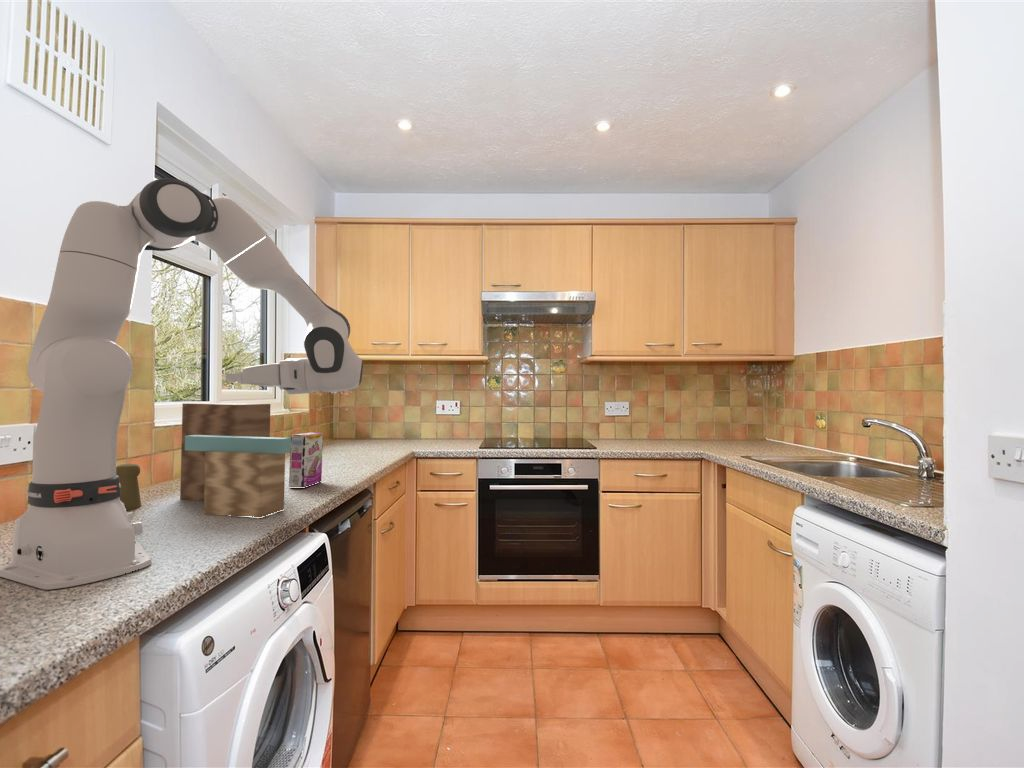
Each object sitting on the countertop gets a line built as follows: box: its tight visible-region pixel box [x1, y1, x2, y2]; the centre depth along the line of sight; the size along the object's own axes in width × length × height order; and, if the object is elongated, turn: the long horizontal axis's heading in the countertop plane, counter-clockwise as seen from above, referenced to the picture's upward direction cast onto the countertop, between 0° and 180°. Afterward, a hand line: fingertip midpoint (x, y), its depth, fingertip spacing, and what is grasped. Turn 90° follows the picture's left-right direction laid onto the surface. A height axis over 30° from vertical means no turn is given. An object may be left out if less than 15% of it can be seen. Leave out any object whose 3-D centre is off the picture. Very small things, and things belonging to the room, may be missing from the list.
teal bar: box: [185, 435, 291, 454], centre depth 121 cm, size 26×4×4 cm, turn 81°
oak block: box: [203, 451, 286, 517], centre depth 121 cm, size 16×8×15 cm, turn 77°
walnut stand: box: [179, 402, 271, 502], centre depth 138 cm, size 18×12×26 cm, turn 77°
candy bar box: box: [288, 432, 324, 488], centre depth 155 cm, size 11×5×16 cm, turn 172°
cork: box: [116, 463, 142, 511], centre depth 123 cm, size 6×6×11 cm
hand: (232, 379), depth 118 cm, fingers open, 8 cm apart
